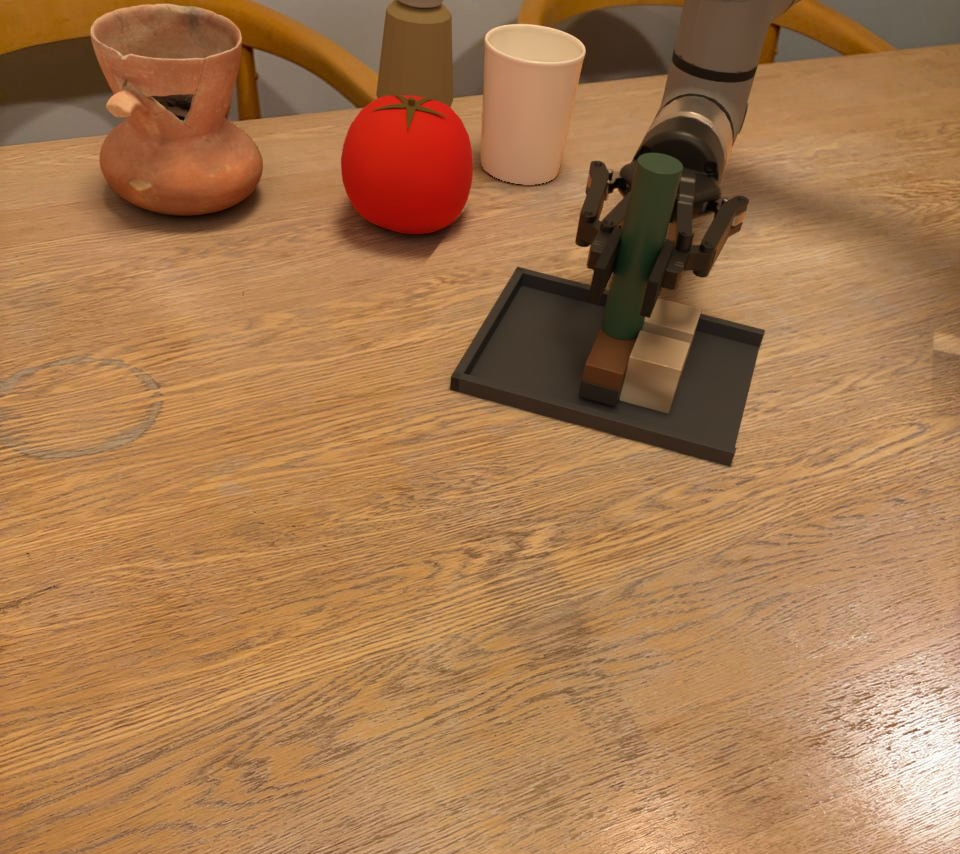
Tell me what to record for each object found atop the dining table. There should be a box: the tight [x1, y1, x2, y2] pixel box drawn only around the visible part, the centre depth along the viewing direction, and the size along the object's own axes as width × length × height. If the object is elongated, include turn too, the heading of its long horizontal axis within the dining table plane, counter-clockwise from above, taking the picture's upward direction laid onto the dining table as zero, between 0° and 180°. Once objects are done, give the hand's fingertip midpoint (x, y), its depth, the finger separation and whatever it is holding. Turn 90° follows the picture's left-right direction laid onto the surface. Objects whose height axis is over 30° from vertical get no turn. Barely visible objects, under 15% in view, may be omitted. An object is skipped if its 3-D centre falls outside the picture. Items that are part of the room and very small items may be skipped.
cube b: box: [619, 330, 690, 414], centre depth 79 cm, size 4×4×4 cm
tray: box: [449, 266, 766, 468], centre depth 83 cm, size 22×18×2 cm
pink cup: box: [480, 23, 587, 186], centre depth 103 cm, size 10×10×12 cm
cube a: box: [642, 297, 703, 375], centre depth 83 cm, size 4×4×4 cm
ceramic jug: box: [89, 3, 264, 217], centre depth 91 cm, size 18×14×14 cm
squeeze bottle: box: [376, 0, 454, 108], centre depth 103 cm, size 8×8×18 cm
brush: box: [578, 153, 683, 406], centre depth 77 cm, size 3×12×16 cm, turn 162°
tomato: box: [340, 91, 474, 235], centre depth 93 cm, size 12×13×11 cm
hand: (622, 292), depth 72 cm, fingers closed on brush, 3 cm apart
